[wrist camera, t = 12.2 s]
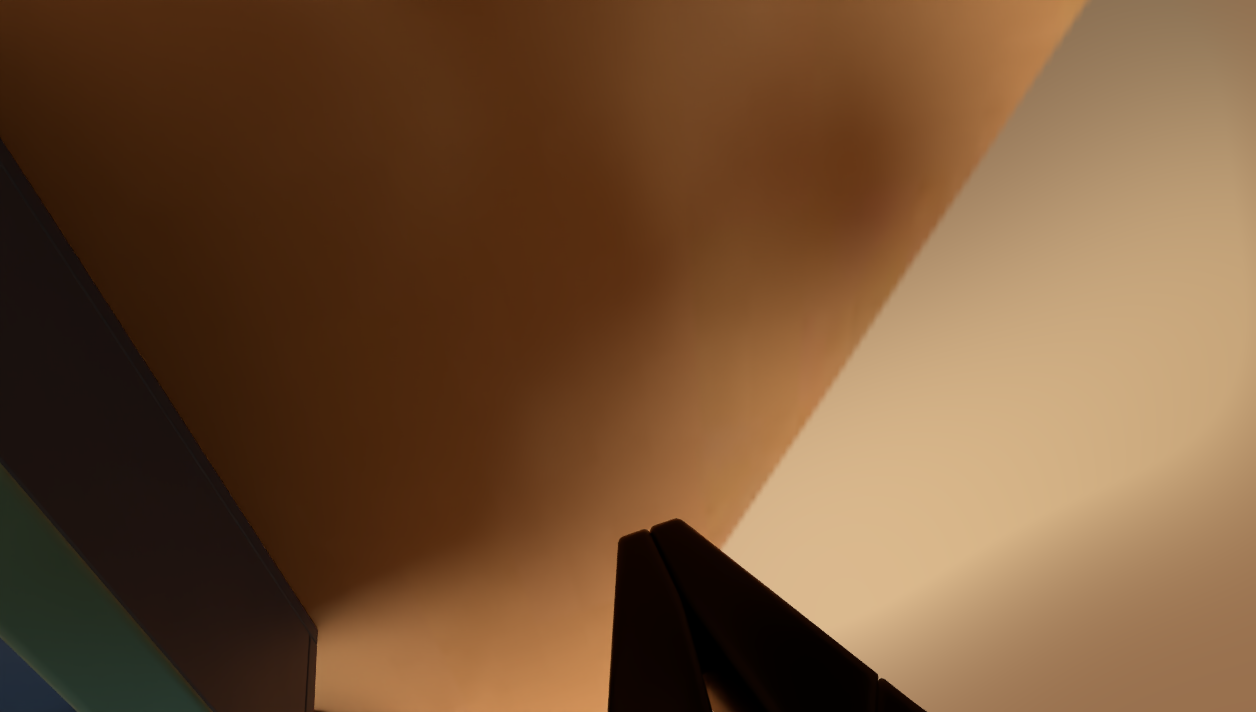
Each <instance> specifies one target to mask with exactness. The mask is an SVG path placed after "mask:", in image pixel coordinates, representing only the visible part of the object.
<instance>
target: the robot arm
mask: <svg viewBox="0 0 1256 712" xmlns="http://www.w3.org/2000/svg"><path fill="white" fill-rule="evenodd" d="M712 710H713V711H714V712H926V711H925V710H924V709H922V708H921V707H920V706H918V705H917V704H916V703H914V702H913V701H912V700H910V699H909V698H908V697H906V696H905V695H904V694H903V693H901V692H900V691H899V690H898V689H896V688H895V687H894V686H893V685H891V684H890V683H889V682H887V681H886V680H885V679H882V678H881V679H879V680H878V674H877V673H876V672H874V671H873V670H872V669H870V668H869V667H868V666H867V665H865V664H864V663H863V662H862V661H860V660H859V659H858V658H856V657H855V656H854V655H853V654H851V653H850V652H849V651H848V650H846V649H845V648H844V647H843V646H841V645H840V644H839V643H838V642H836V641H835V640H834V639H832V638H831V637H830V636H829V635H827V634H826V633H825V632H824V631H822V630H821V629H820V628H819V627H817V626H816V625H815V624H813V623H812V622H811V621H809V620H808V619H807V618H806V617H805V616H803V615H802V614H801V613H799V612H798V611H797V610H796V609H794V608H793V607H792V606H791V605H789V604H788V603H787V602H785V601H784V600H783V599H782V598H780V597H779V596H778V595H777V594H775V593H774V592H773V591H772V590H770V589H769V588H768V587H766V586H765V585H764V584H763V583H761V582H760V581H759V580H758V579H756V578H755V577H754V576H753V575H751V574H750V573H749V572H747V571H746V570H745V569H744V568H742V567H741V566H740V565H738V564H737V563H736V562H735V561H733V560H732V559H731V558H730V557H728V556H727V555H726V554H725V553H723V552H722V551H721V550H720V549H718V548H717V547H716V546H714V545H713V544H712V543H711V542H709V541H708V540H707V539H706V538H704V537H703V536H702V535H700V534H699V533H698V532H697V531H695V530H694V529H693V528H692V527H690V526H689V525H688V524H687V523H685V522H684V521H682V520H681V519H677V518H676V519H672V520H669V521H666V522H663V523H660V524H657V525H654V526H653V527H652V528H651V529H650V532H649V531H648V530H646V529H643V530H640V531H637V532H634V533H631V534H628V535H625V536H623V537H621V538H620V539H619V542H618V553H617V569H616V585H615V601H614V617H613V633H612V649H611V665H610V681H609V698H608V712H713V711H712Z"/></svg>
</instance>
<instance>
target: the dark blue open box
mask: <svg viewBox="0 0 1256 712" xmlns="http://www.w3.org/2000/svg"><path fill="white" fill-rule="evenodd" d="M0 463H1V464H2V465H3V467H4V468H5V469H6V470H7V471H8V472H9V474H10V475H11V476H12V477H13V478H14V479H15V481H16V482H17V483H18V484H19V485H20V486H21V488H22V489H23V490H24V491H25V492H26V493H27V495H28V496H29V497H30V498H31V499H32V500H33V502H34V503H35V504H36V505H37V506H38V508H39V509H40V510H41V511H42V512H43V513H44V515H45V516H46V517H47V518H48V519H49V520H50V522H51V523H52V524H53V525H54V526H55V527H56V529H57V530H58V531H59V532H60V533H61V534H62V536H63V537H64V538H65V539H66V540H67V541H68V543H69V544H70V545H71V546H72V547H73V548H74V550H75V551H76V552H77V553H78V554H79V556H80V557H81V558H82V559H83V560H84V561H85V563H86V564H87V565H88V566H89V567H90V568H91V570H92V571H93V572H94V573H95V574H96V575H97V577H98V578H99V579H100V580H101V581H102V582H103V584H104V585H105V586H106V587H107V588H108V589H109V591H110V592H111V593H112V594H113V595H114V596H115V598H116V599H117V600H118V601H119V602H120V603H121V605H122V606H123V607H124V608H125V609H126V611H127V612H128V613H129V614H130V615H131V616H132V618H133V619H134V620H135V621H136V622H137V623H138V625H139V626H140V627H141V628H142V629H143V630H144V632H145V633H146V634H147V635H148V636H149V637H150V639H151V640H152V641H153V642H154V643H155V644H156V646H157V647H158V648H159V649H160V650H161V651H162V653H163V654H164V655H165V656H166V657H167V659H168V660H169V661H170V662H171V663H172V664H173V666H174V667H175V668H176V669H177V670H178V671H179V673H180V674H181V675H182V676H183V677H184V678H185V680H186V681H187V682H188V683H189V684H190V685H191V687H192V688H193V689H194V690H195V691H196V692H197V694H198V695H199V696H200V697H201V698H202V699H203V701H204V702H205V703H206V704H207V705H208V706H209V708H210V709H211V710H212V711H213V712H314V698H315V677H316V656H317V636H318V630H317V628H316V627H315V625H314V623H313V622H312V620H311V619H310V617H309V616H308V614H307V613H306V611H305V609H304V608H303V606H302V605H301V603H300V602H299V600H298V599H297V597H296V596H295V594H294V592H293V591H292V589H291V588H290V586H289V585H288V583H287V582H286V580H285V578H284V577H283V575H282V574H281V572H280V571H279V569H278V568H277V566H276V565H275V563H274V561H273V560H272V558H271V557H270V555H269V554H268V552H267V551H266V549H265V547H264V546H263V544H262V543H261V541H260V540H259V538H258V537H257V535H256V534H255V532H254V530H253V529H252V527H251V526H250V524H249V523H248V521H247V520H246V518H245V516H244V515H243V513H242V512H241V510H240V509H239V507H238V506H237V504H236V503H235V501H234V499H233V498H232V496H231V495H230V493H229V492H228V490H227V489H226V487H225V485H224V484H223V482H222V481H221V479H220V478H219V476H218V475H217V473H216V472H215V470H214V468H213V467H212V465H211V464H210V462H209V461H208V459H207V458H206V456H205V454H204V453H203V451H202V450H201V448H200V447H199V445H198V444H197V442H196V441H195V439H194V437H193V436H192V434H191V433H190V431H189V430H188V428H187V427H186V425H185V423H184V422H183V420H182V419H181V417H180V416H179V414H178V413H177V411H176V410H175V408H174V406H173V405H172V403H171V402H170V400H169V399H168V397H167V396H166V394H165V392H164V391H163V389H162V388H161V386H160V385H159V383H158V382H157V380H156V378H155V377H154V375H153V374H152V372H151V371H150V369H149V368H148V366H147V365H146V363H145V361H144V360H143V358H142V357H141V355H140V354H139V352H138V351H137V349H136V347H135V346H134V344H133V343H132V341H131V340H130V338H129V337H128V335H127V334H126V332H125V330H124V329H123V327H122V326H121V324H120V323H119V321H118V320H117V318H116V316H115V315H114V313H113V312H112V310H111V309H110V307H109V306H108V304H107V303H106V301H105V299H104V298H103V296H102V295H101V293H100V292H99V290H98V289H97V287H96V285H95V284H94V282H93V281H92V279H91V278H90V276H89V275H88V273H87V272H86V270H85V268H84V267H83V265H82V264H81V262H80V261H79V259H78V258H77V256H76V254H75V253H74V251H73V250H72V248H71V247H70V245H69V244H68V242H67V241H66V239H65V237H64V236H63V234H62V233H61V231H60V230H59V228H58V227H57V225H56V223H55V222H54V220H53V219H52V217H51V216H50V214H49V213H48V211H47V210H46V208H45V206H44V205H43V203H42V202H41V200H40V199H39V197H38V196H37V194H36V192H35V191H34V189H33V188H32V186H31V185H30V183H29V182H28V180H27V179H26V177H25V175H24V174H23V172H22V171H21V169H20V168H19V166H18V165H17V163H16V161H15V160H14V158H13V157H12V155H11V154H10V152H9V151H8V149H7V148H6V146H5V144H4V143H3V141H2V140H1V138H0ZM0 712H77V711H76V710H75V709H74V708H73V707H72V706H70V705H69V704H68V703H67V702H66V701H65V700H64V699H63V698H62V697H61V696H60V695H59V694H58V693H57V692H56V691H55V690H54V689H53V688H52V687H51V686H50V685H49V684H48V683H47V682H46V681H45V680H44V679H43V678H42V677H40V676H39V675H38V674H37V673H36V672H35V671H34V670H33V669H32V668H31V667H30V666H29V665H28V664H27V663H26V662H25V661H24V660H23V659H22V658H21V657H20V656H19V655H18V654H17V653H16V652H15V651H14V650H13V649H11V648H10V647H9V646H8V645H7V644H6V643H5V642H4V641H3V640H2V639H1V638H0Z"/></svg>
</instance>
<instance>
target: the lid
mask: <svg viewBox="0 0 1256 712" xmlns="http://www.w3.org/2000/svg"><path fill="white" fill-rule="evenodd" d="M0 638H1V639H2V640H3V641H4V642H5V643H6V644H7V645H8V646H9V647H10V648H11V649H13V650H14V651H15V652H16V653H17V654H18V655H19V656H20V657H21V658H22V659H23V660H24V661H25V662H26V663H27V664H28V665H29V666H30V667H31V668H32V669H33V670H34V671H35V672H36V673H37V674H38V675H39V676H40V677H42V678H43V679H44V680H45V681H46V682H47V683H48V684H49V685H50V686H51V687H52V688H53V689H54V690H55V691H56V692H57V693H58V694H59V695H60V696H61V697H62V698H63V699H64V700H65V701H66V702H67V703H68V704H69V705H70V706H72V707H73V708H74V709H75V710H76V711H77V712H213V711H212V710H211V709H210V708H209V706H208V705H207V704H206V703H205V702H204V701H203V699H202V698H201V697H200V696H199V695H198V694H197V692H196V691H195V690H194V689H193V688H192V687H191V685H190V684H189V683H188V682H187V681H186V680H185V678H184V677H183V676H182V675H181V674H180V673H179V671H178V670H177V669H176V668H175V667H174V666H173V664H172V663H171V662H170V661H169V660H168V659H167V657H166V656H165V655H164V654H163V653H162V651H161V650H160V649H159V648H158V647H157V646H156V644H155V643H154V642H153V641H152V640H151V639H150V637H149V636H148V635H147V634H146V633H145V632H144V630H143V629H142V628H141V627H140V626H139V625H138V623H137V622H136V621H135V620H134V619H133V618H132V616H131V615H130V614H129V613H128V612H127V611H126V609H125V608H124V607H123V606H122V605H121V603H120V602H119V601H118V600H117V599H116V598H115V596H114V595H113V594H112V593H111V592H110V591H109V589H108V588H107V587H106V586H105V585H104V584H103V582H102V581H101V580H100V579H99V578H98V577H97V575H96V574H95V573H94V572H93V571H92V570H91V568H90V567H89V566H88V565H87V564H86V563H85V561H84V560H83V559H82V558H81V557H80V556H79V554H78V553H77V552H76V551H75V550H74V548H73V547H72V546H71V545H70V544H69V543H68V541H67V540H66V539H65V538H64V537H63V536H62V534H61V533H60V532H59V531H58V530H57V529H56V527H55V526H54V525H53V524H52V523H51V522H50V520H49V519H48V518H47V517H46V516H45V515H44V513H43V512H42V511H41V510H40V509H39V508H38V506H37V505H36V504H35V503H34V502H33V500H32V499H31V498H30V497H29V496H28V495H27V493H26V492H25V491H24V490H23V489H22V488H21V486H20V485H19V484H18V483H17V482H16V481H15V479H14V478H13V477H12V476H11V475H10V474H9V472H8V471H7V470H6V469H5V468H4V467H3V465H2V464H1V463H0Z"/></svg>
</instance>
